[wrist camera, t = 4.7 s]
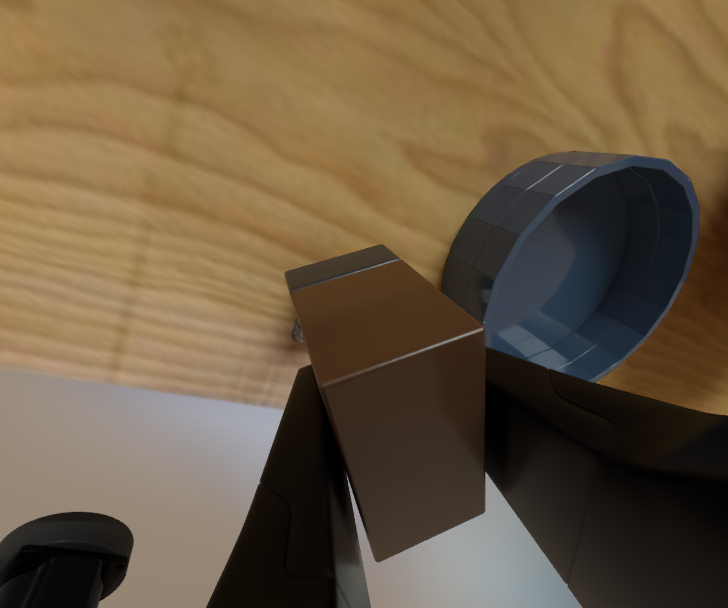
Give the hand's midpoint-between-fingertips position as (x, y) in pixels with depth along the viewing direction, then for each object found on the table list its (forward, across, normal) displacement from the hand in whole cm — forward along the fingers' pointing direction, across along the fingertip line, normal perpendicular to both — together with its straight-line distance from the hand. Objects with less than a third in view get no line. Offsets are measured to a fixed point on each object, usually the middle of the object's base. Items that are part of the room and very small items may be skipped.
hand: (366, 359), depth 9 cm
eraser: (+1, 0, 0) cm, 1 cm away
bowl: (+11, -15, +6) cm, 20 cm away
